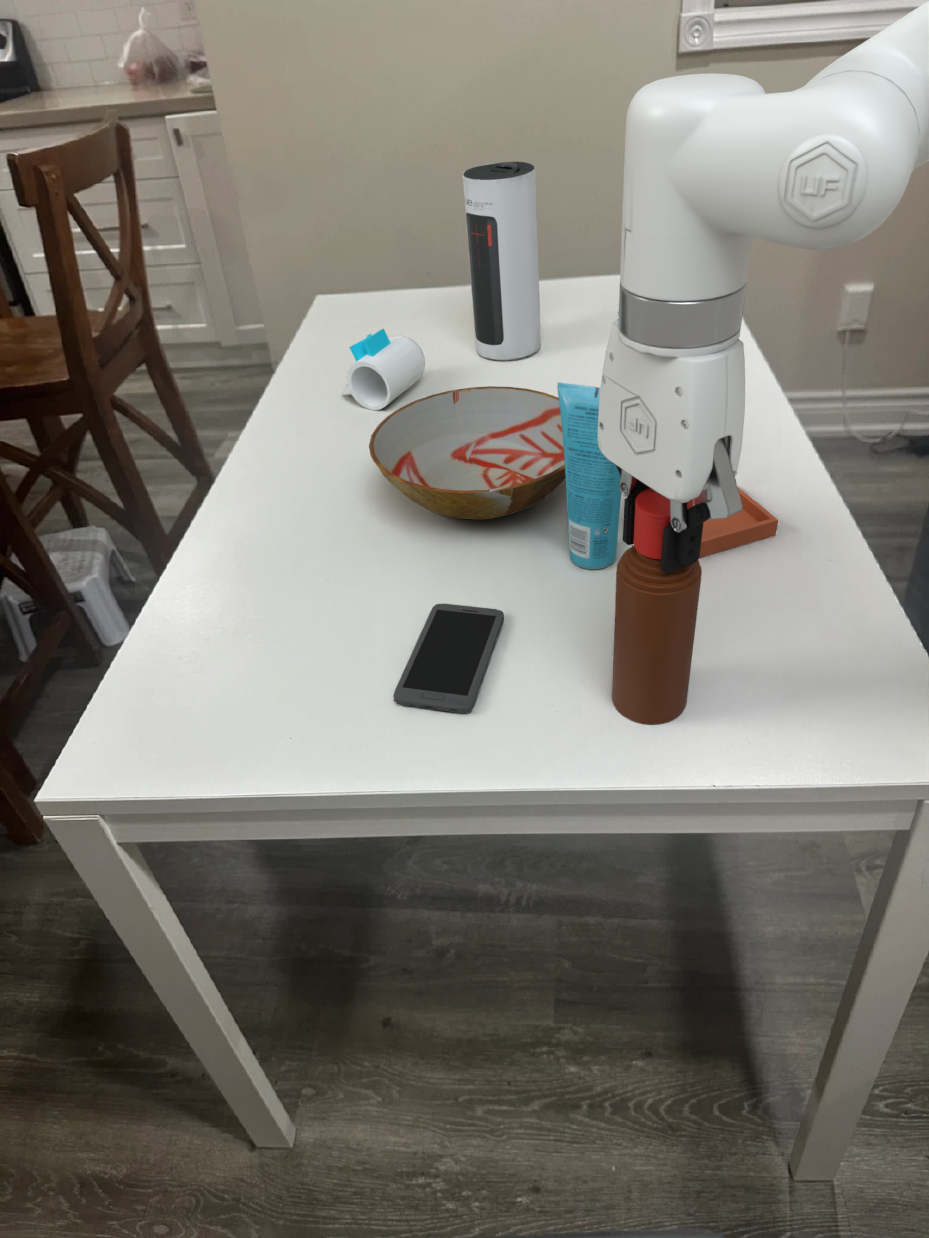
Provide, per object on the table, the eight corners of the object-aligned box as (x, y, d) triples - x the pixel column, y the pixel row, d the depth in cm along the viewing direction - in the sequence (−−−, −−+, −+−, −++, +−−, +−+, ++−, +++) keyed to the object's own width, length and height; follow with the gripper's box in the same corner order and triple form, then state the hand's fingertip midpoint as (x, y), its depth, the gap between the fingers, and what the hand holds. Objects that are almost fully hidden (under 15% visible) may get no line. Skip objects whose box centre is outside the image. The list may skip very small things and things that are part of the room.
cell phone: (391, 704, 77) (390, 698, 76) (435, 607, 87) (434, 601, 86) (471, 715, 75) (470, 709, 75) (506, 614, 85) (505, 609, 85)
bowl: (403, 576, 92) (393, 512, 87) (361, 466, 111) (351, 408, 106) (623, 526, 96) (627, 463, 91) (547, 428, 115) (546, 371, 110)
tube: (631, 548, 92) (640, 379, 80) (622, 575, 89) (630, 402, 77) (563, 540, 95) (562, 373, 82) (552, 565, 91) (549, 396, 79)
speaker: (462, 347, 138) (447, 167, 121) (515, 330, 142) (508, 153, 125) (500, 367, 131) (490, 179, 114) (555, 348, 134) (552, 164, 118)
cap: (622, 540, 66) (623, 497, 63) (664, 522, 67) (667, 480, 65) (656, 566, 63) (659, 522, 60) (700, 547, 64) (705, 503, 62)
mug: (413, 310, 124) (367, 342, 116) (440, 368, 128) (398, 403, 120) (356, 333, 131) (309, 365, 124) (383, 388, 135) (340, 422, 127)
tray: (722, 490, 100) (724, 475, 98) (776, 535, 92) (778, 519, 91) (627, 516, 97) (628, 501, 96) (674, 565, 90) (676, 549, 88)
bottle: (662, 664, 78) (679, 477, 66) (701, 711, 74) (726, 518, 61) (599, 685, 77) (603, 497, 64) (633, 733, 72) (646, 541, 60)
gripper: (554, 290, 58) (556, 519, 70) (727, 371, 47) (695, 629, 58) (643, 264, 61) (631, 489, 72) (828, 335, 49) (778, 589, 61)
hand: (660, 549), depth 65 cm, fingers closed on cap, 3 cm apart
